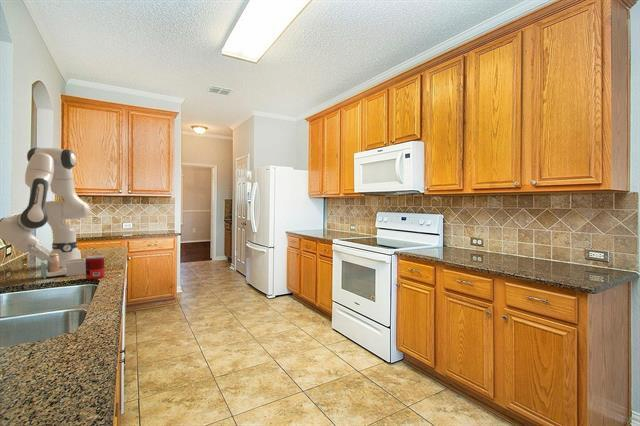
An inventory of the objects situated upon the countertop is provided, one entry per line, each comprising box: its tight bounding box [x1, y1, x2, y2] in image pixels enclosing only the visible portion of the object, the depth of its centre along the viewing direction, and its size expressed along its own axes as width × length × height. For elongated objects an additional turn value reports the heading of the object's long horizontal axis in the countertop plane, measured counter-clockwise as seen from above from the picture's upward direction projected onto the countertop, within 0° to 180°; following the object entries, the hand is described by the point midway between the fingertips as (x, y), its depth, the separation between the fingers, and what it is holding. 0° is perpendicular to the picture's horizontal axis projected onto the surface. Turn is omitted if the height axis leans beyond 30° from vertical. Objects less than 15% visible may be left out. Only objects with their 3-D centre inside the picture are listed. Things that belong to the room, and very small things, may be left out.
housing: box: [61, 257, 86, 277], centre depth 177 cm, size 11×10×7 cm
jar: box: [46, 253, 61, 272], centre depth 170 cm, size 5×5×9 cm
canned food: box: [85, 254, 105, 280], centre depth 168 cm, size 8×8×11 cm
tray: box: [40, 261, 66, 280], centre depth 171 cm, size 9×10×7 cm
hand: (55, 261), depth 171 cm, fingers closed on jar, 5 cm apart
